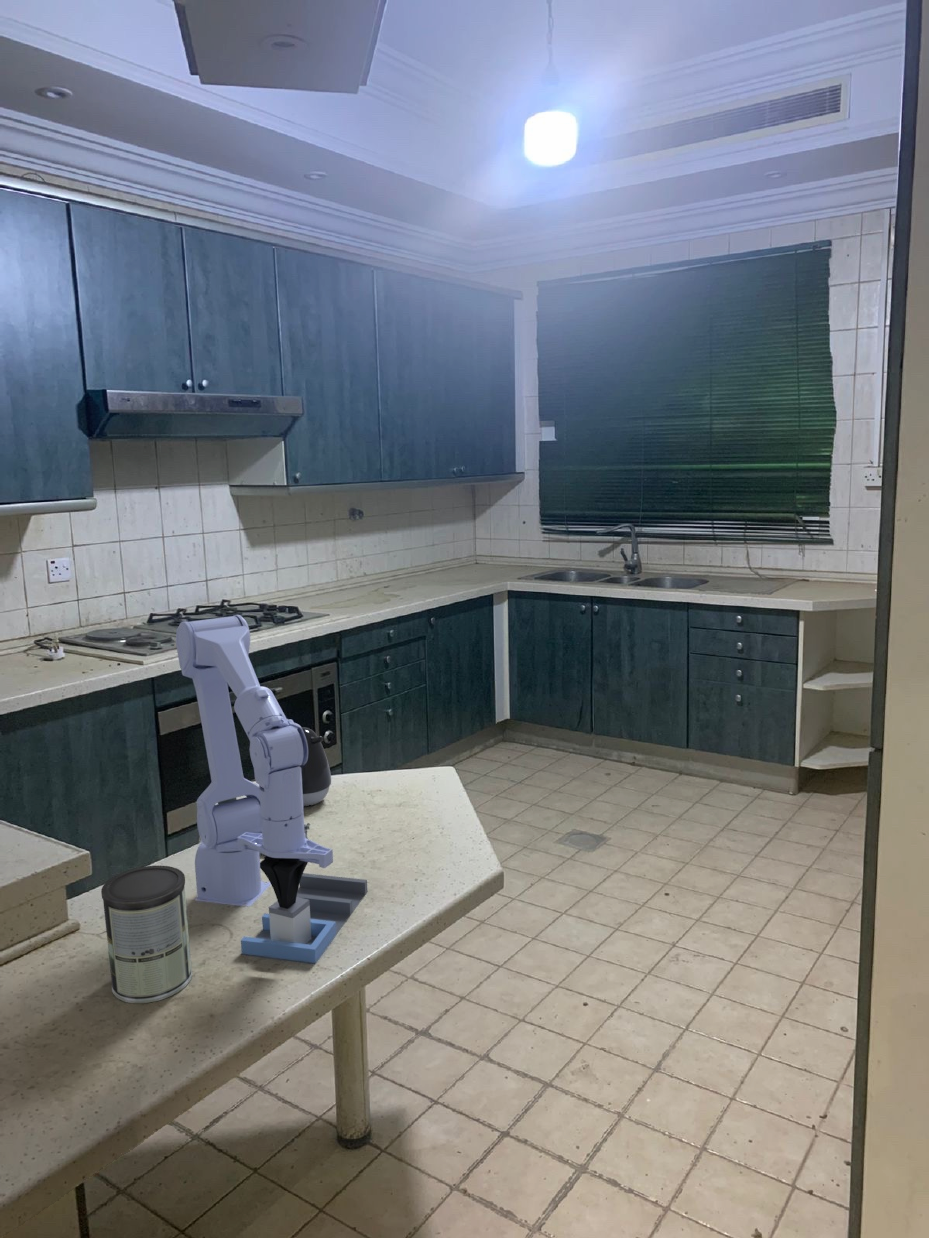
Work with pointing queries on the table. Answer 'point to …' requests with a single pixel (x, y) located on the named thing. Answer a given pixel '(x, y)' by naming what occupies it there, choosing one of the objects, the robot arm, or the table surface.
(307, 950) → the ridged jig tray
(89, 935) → the table surface
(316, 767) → the black penguin toy
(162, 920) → the coffee can
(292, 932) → the grey square block
